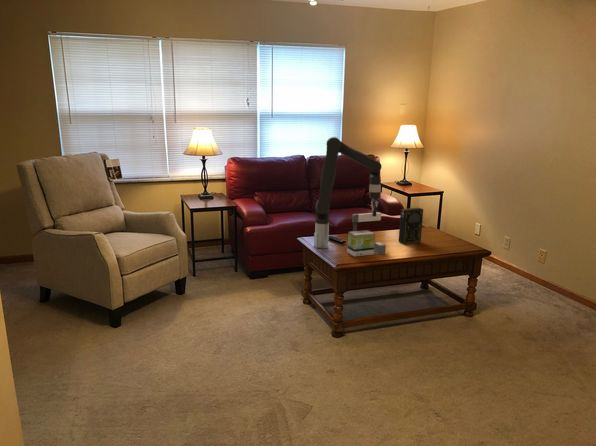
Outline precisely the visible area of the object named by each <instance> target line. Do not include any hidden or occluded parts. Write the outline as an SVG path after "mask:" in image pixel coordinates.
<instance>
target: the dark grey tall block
mask: <svg viewBox="0 0 596 446" xmlns="http://www.w3.org/2000/svg"><path fill="white" fill-rule="evenodd" d="M399 217H400V218H399V230H398V231H399V232H398V243H400V244H403V245H412V244H419V243H421V241H422V231H423V228H422V227H423V218H424V209H423V208H421V207H411V208H410V207H409V208H401V209H400V215H399Z"/></svg>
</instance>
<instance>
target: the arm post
mask: <svg viewBox="0 0 596 446" xmlns="http://www.w3.org/2000/svg"><path fill="white" fill-rule="evenodd" d="M357 229H358V222H357V223H354V222H352V231H358V230H357Z"/></svg>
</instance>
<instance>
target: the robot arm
mask: <svg viewBox="0 0 596 446" xmlns="http://www.w3.org/2000/svg"><path fill="white" fill-rule="evenodd" d="M339 153H340V154H342V155H344V156H346V157H347V158H348V159H350V160H352V161H353V162H355V163H357V164H359V165H361V166H363V167H365V168H367V169H368V170H369V189H368V190H369V191H368V193H369V195H368V196H369V199H371V201H370V205H371V210H372V213H373V216H376V213H377V211H378V208H379V201H378V200H379V199H381V197H382V196H381V192H382V188H381V186H382V185H381V170H382V164H381V162H380V161H378V160H375V159H373V158H371V157H369V156H368V155H367V154H365V153H363V152H360V151H358V150H356V149H355V148H352V147H350V146H349V145H347V144H345V143H344V142H343V141H341V140H340V139H339V138H338V137H337V136H332V137H329V138H328V139H327V141H326V153H325V160H324V163H323V166H322V170H321V175H320V185H319V186H320V187H319V188H320V191H319V197H318V200H317V201H316V203H315V216H314V217H315V225H314V228H315V229H314V231H315V232H314V233H313V247H315V249H327V248H329V237H330V236H329V234H330V232H329V231H330V230H329V228H330V208H331V199H332V198H331V195H332V191H333V188H334V183H335V180H336V179H335V178H336V173H337V160H338V155H339Z"/></svg>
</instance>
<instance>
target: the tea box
mask: <svg viewBox="0 0 596 446" xmlns="http://www.w3.org/2000/svg"><path fill="white" fill-rule="evenodd" d="M375 241H376V233H374V232H372V231H371V230H368V229H367V230H357V231H353V230H352V231H348V236H347V249H346V250H347V251H346V252H347V254H349V255H350V256H353V258H355V257H362V256H371V255H374V253H375V252H374V245H375Z"/></svg>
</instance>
